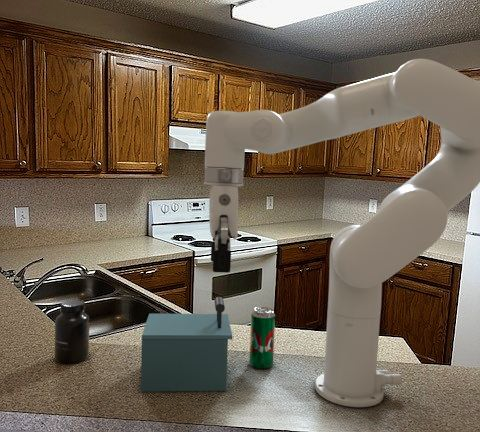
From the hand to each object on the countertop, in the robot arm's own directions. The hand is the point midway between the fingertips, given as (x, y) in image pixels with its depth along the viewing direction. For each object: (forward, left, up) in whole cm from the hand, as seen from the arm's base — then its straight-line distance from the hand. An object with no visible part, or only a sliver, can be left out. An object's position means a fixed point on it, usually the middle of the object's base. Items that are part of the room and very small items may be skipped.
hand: (219, 266), depth 87 cm
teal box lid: (+6, -1, -12) cm, 14 cm away
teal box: (+6, 0, -22) cm, 23 cm away
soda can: (-10, -5, -22) cm, 25 cm away
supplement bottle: (+30, -9, -22) cm, 39 cm away
